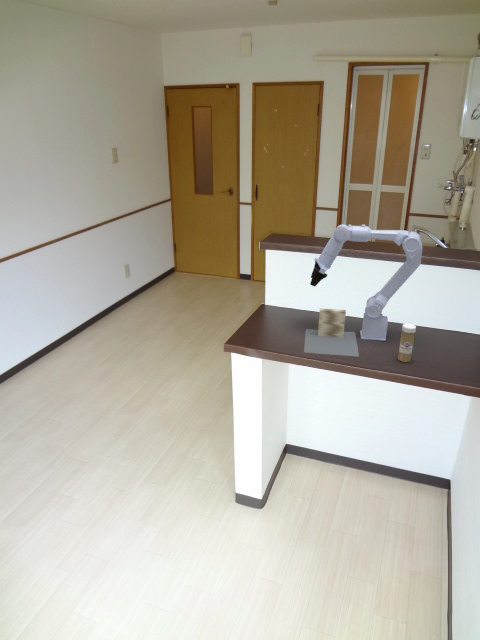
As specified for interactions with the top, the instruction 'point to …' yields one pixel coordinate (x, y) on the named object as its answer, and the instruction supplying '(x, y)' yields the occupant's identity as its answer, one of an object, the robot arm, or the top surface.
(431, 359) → the top surface
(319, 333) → the teal framed tile
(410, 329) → the sprinkles bottle
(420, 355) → the top surface
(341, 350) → the slate mat
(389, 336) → the top surface
